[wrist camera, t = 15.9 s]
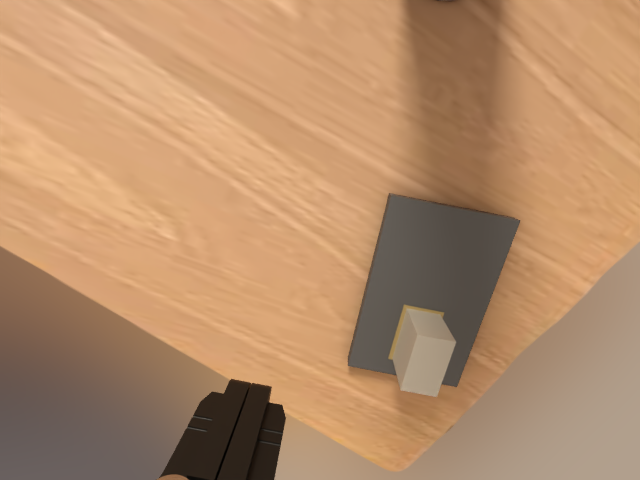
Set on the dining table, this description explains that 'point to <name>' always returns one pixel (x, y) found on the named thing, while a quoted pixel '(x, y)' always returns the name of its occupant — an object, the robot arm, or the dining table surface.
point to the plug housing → (422, 352)
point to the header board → (430, 277)
